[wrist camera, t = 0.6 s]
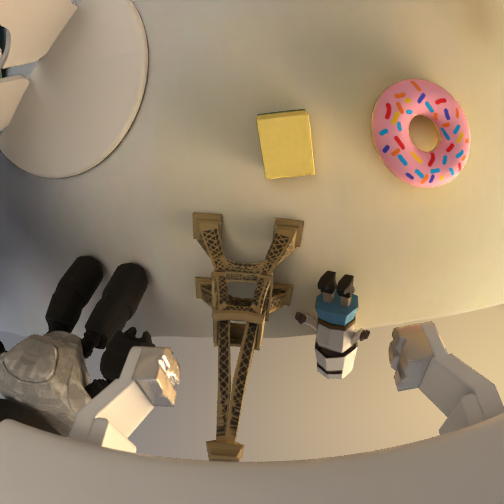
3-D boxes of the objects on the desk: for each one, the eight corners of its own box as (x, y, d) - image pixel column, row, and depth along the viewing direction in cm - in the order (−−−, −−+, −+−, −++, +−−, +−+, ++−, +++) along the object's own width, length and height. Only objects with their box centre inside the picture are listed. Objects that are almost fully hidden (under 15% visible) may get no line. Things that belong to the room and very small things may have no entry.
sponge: (257, 114, 25) (256, 119, 23) (304, 109, 25) (308, 113, 22) (265, 168, 28) (265, 179, 25) (310, 163, 27) (314, 174, 25)
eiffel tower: (197, 296, 36) (145, 518, 15) (193, 212, 30) (91, 482, 9) (289, 303, 36) (296, 533, 15) (303, 220, 30) (343, 510, 9)
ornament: (101, -25, 17) (-32, -58, 3) (199, 51, 22) (103, 38, 8) (-2, 145, 26) (-108, 213, 12) (69, 215, 31) (-22, 318, 17)
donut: (499, 128, 19) (446, 215, 23) (478, 122, 23) (432, 197, 27) (405, 55, 18) (351, 151, 23) (394, 60, 22) (348, 142, 27)
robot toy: (182, 242, 32) (78, 567, 7) (182, 310, 38) (121, 567, 12) (26, 221, 32) (-122, 414, 7) (42, 283, 37) (-62, 465, 12)
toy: (369, 303, 27) (356, 398, 34) (386, 268, 31) (373, 363, 38) (286, 284, 32) (294, 377, 39) (312, 254, 36) (315, 346, 43)
